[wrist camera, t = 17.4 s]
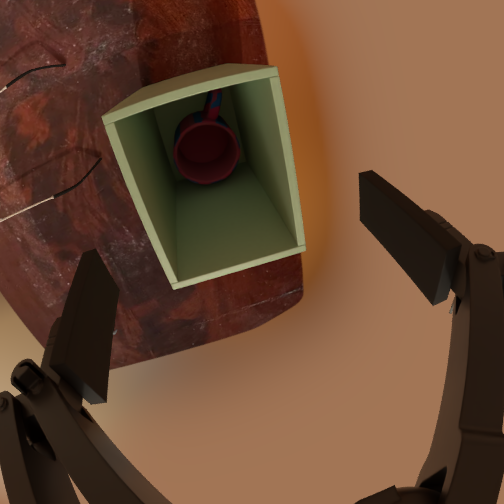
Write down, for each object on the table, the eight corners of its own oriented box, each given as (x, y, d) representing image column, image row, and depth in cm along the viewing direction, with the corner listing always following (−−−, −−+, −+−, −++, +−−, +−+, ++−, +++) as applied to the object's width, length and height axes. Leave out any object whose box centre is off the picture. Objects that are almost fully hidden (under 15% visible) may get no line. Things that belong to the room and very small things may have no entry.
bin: (141, 87, 31) (101, 116, 15) (227, 63, 31) (277, 65, 15) (173, 185, 39) (173, 290, 23) (250, 163, 39) (306, 250, 23)
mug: (168, 157, 36) (166, 177, 31) (191, 78, 31) (193, 81, 26) (220, 169, 38) (229, 190, 33) (246, 93, 33) (260, 100, 28)
